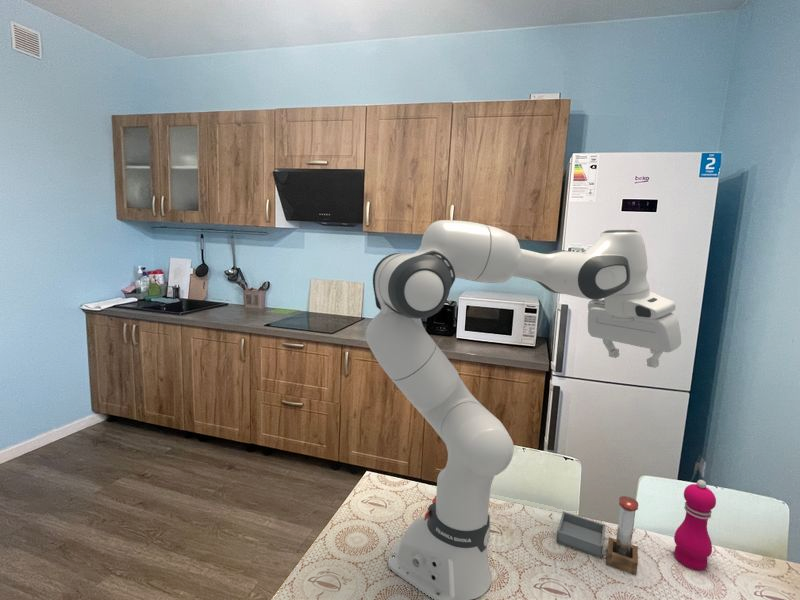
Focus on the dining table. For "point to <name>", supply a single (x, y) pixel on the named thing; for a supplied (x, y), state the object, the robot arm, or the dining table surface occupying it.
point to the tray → (581, 534)
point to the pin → (625, 525)
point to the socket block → (622, 558)
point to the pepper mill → (695, 527)
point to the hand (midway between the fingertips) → (632, 361)
